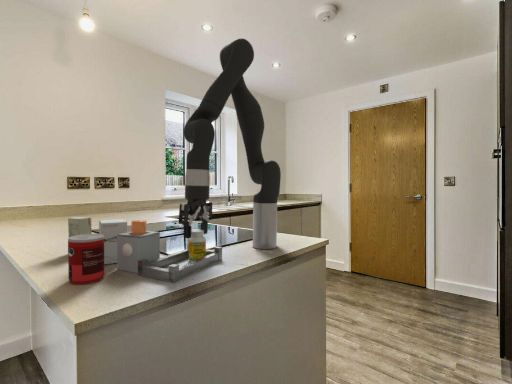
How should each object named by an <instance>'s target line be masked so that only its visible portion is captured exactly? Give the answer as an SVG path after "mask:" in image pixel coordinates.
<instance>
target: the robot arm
mask: <svg viewBox="0 0 512 384" xmlns="http://www.w3.org/2000/svg"><path fill="white" fill-rule="evenodd" d="M254 58H255V50H254V48H253V45H252V44H251V42H250V41H248V40H247V39H246V38H236V39H235V40H233V41H231V42H230V43H228V44H226V45H225V46H223V47H222V48H221V49H220V52H219V62H220V65H221V69H222V71H221V73H220V74H219V75H218V76H217V77H216V79H215V80H214V81H213V82H212V83H211V85H210V86H209V88H208V89H207V90H206V92H205V94H204V96H203V98H202V100H201V101H200V104H199V105H198V107H197V108H196V110H194V112H193V113H192V114H191V116H190V117H189V118H188V120H187V121H186V123H185V125H184V127H183V137H184V140H186V142H188V143H189V144H192V148H191V150H189V151H188V152H187V154H186V163H185V165H186V168H185V169H186V171H185V179H184V180H185V181H184V199H185V200H186V202H187V203H180V204H179V209H178V210H179V212H178V224H180V225H183V237H184V238H185V239H189V238H191V237H192V236H191V231H192V230H193V229H192V228H193V227H192V224H193V222H194V221H195V220H196V219H197V218H199V220H200V221H201V222H200V230H203V231H204V235H207V234H208V232H209V230H208V228H209V227H208V226H209V222H210V221H212V220H213V202H212V201H207V200H210V188H211V187H210V186H211V185H210V182H211V178H210V177H211V176H210V157H211V153H212V149H213V145H214V142H215V136H216V134H215V128H214V125H213V122H215V121H217V120H218V119H219V117H220V115H221V114H222V112H223V110H224V108H225V105H226V104H227V102H228V100H229V98H230V96H231V98H232V102H233V105H234V109H235V114H236V118H237V121H238V126H239V129H240V132H241V136H242V140H243V145H244V149H245V154H246V159H247V166H248V173H249V176H250V177H249V178H250V180H251V181H252V182H253V183H254V184H256V185H261V186H260V190H259V191H258V192H257V193H255V194H254V195H253V197H252V198H253V207H252V210H253V211H252V216H253V217H252V247H253V248H254V249H260V250H272V249H277V235H278V233H277V232H278V230H277V229H278V227H277V226H278V198H279V196H280V190H281V176H282V175H281V173H282V172H281V167H280V165H279V163H278V162H276V161H275V160H269V159H268V160H265V159H264V156H263V155H264V154H263V152H262V142H263V141H262V140H263V136H264V131H265V119H264V115H263V112H262V111H263V110H262V108H261V105H260V103H259V102H258V100H257V99H256V97H255V96H254V95H253V93H251V91H250V90H249V89H248V87H247V85H246V81H245V77H244V74H245V73H246V72H247V70H248V69H249V68H250V67H251V65H252V63H253V61H254ZM183 217H184V218H183Z"/></svg>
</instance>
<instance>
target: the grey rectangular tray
mask: <svg viewBox="0 0 512 384" xmlns="http://www.w3.org/2000/svg"><path fill="white" fill-rule="evenodd" d="M187 259H189V243H187V248H186V249H183V250H179V251H177V252H174V253H171V254H169V255H166V256H162V257H160V258H159V259H157V260H154V261H151V262H148V259H140V260H138V273H137V276H141V277H145V278H149V279H155V280H158V281H165V282H170V283H177V282H178V281H180V280H183V279H184V278H186V277H189V276H190V275H192V274H194V273H197V272H198V271H200V270H202V269H205V268H206V267H209V266H211V265H213V264H214V263H217V262H218V261H219V262H220V261H222V259H223V246H215V247H214V248H213V249H208V248H206V256H205V257H203V258H200V259H198V260H196V261H193V262H189V263H187V264H186V263H185V264H184V265H182V266H180V265H179V264H176V263H179V262H181V261H184V260H187Z"/></svg>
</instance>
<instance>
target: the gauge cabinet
mask: <svg viewBox="0 0 512 384" xmlns="http://www.w3.org/2000/svg"><path fill="white" fill-rule="evenodd" d="M160 238H161V234H160V232H159V231H153V230H146V234H142V235H132V234H131V231H127V232H126V233H121V234H117V262H118V263H117V270H121V271H126V272H129V273H130V272H131V273H135V274H138V260H140V259H148V262H151V261H154V260H157V259H159V258H161V256H160V252H161V251H160V247H161V245H160V242H161V240H160Z"/></svg>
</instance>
